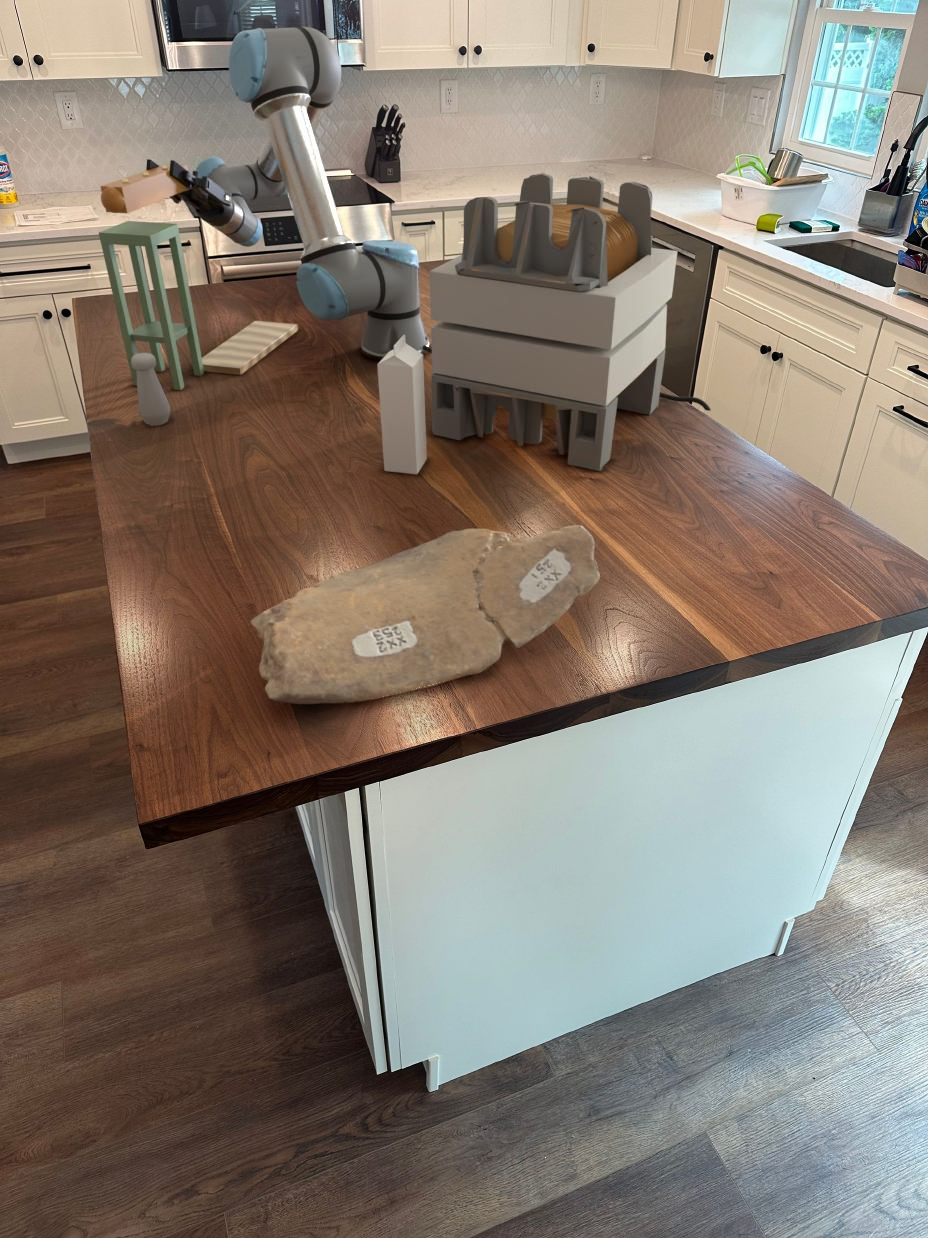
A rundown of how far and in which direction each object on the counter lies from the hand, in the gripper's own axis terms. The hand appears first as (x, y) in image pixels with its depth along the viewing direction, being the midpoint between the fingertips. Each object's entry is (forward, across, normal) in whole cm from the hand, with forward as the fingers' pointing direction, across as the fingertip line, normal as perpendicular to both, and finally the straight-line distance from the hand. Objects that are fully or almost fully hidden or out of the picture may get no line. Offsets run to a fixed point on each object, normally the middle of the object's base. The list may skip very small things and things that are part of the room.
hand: (159, 166), depth 176 cm
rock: (+51, +77, +75) cm, 119 cm away
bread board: (-28, +8, +29) cm, 41 cm away
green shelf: (-10, 0, +39) cm, 40 cm away
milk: (+13, +61, +53) cm, 81 cm away
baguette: (+2, 0, +7) cm, 7 cm away
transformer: (-9, +81, +40) cm, 91 cm away
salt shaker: (+8, +9, +49) cm, 51 cm away
